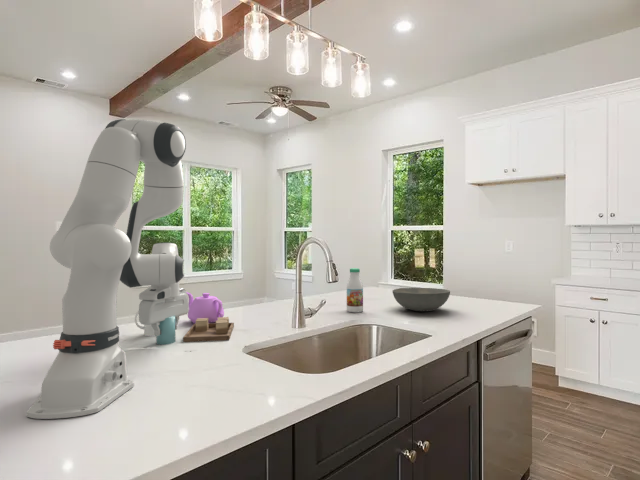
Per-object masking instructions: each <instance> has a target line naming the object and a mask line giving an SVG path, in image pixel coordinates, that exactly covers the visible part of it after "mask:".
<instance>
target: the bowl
mask: <svg viewBox="0 0 640 480" xmlns="http://www.w3.org/2000/svg"><path fill="white" fill-rule="evenodd" d="M392 295H393V297H394V299H395V301H396V303H398V304H399V305H400V306H401V307H403V308H405V309H407V310H410V311H414V312H431V311H434V310H437V309H440V308H441V307H442V306H444V304H446V302H447V301H448V299H449V298H450V295H451V291H450V290H449V289H445V288H437V287H399V288H395V289H392Z"/></svg>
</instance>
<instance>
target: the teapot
mask: <svg viewBox="0 0 640 480" xmlns="http://www.w3.org/2000/svg"><path fill="white" fill-rule="evenodd" d="M210 294H211V293H210V292H203V293H202V296H196V297H195V298H194V295H193V294H192V293H191V292H188V291H186V295H187V297H188V304H189V311H188V313H187V318H188V320H189V321H190V322H191V323H192V324H196V320H197V318H208V323H216V321H217V320H218V318H219V317H225V311H224V307H223V301H222V300H221V299H219V298H218V297H217V296H214V295H210Z"/></svg>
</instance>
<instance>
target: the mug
mask: <svg viewBox="0 0 640 480" xmlns="http://www.w3.org/2000/svg"><path fill="white" fill-rule="evenodd" d="M138 316H139V309H138V310H137V312H136V313H135V315H134V323H135V326H136V327H137V328H139V329H141V330H143V335H144V336H146V337H156V336H155V335H154V329H153V328H152V326H151V324H150V325H140V324H139V323H138V322H137V320H138V319H137V318H138Z"/></svg>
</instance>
